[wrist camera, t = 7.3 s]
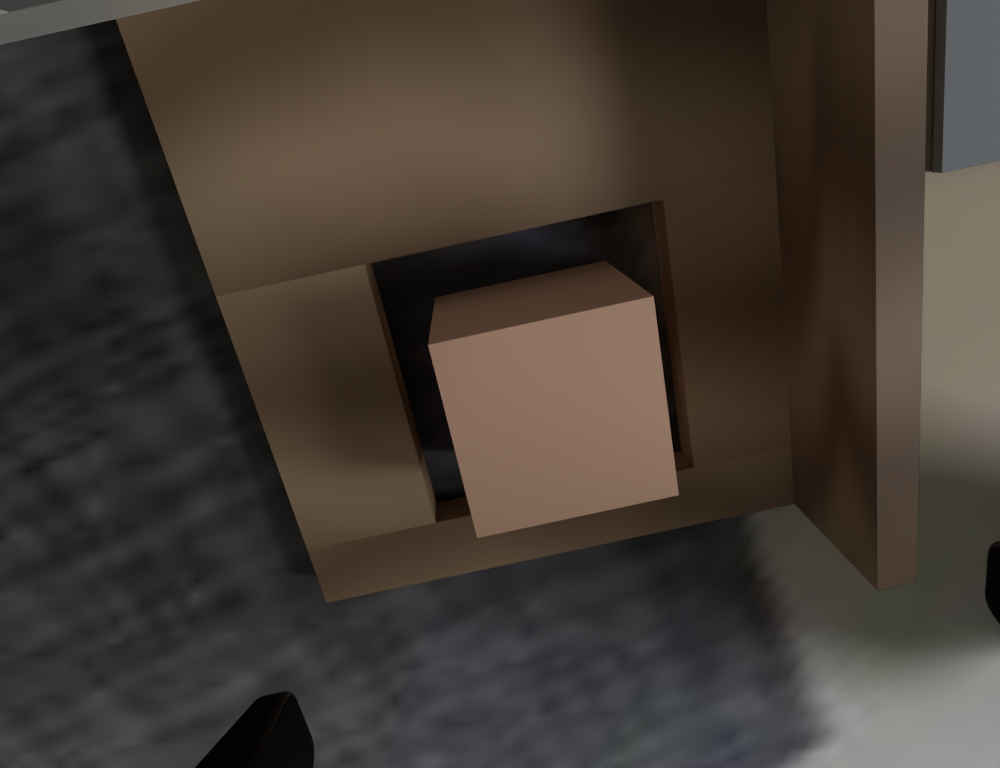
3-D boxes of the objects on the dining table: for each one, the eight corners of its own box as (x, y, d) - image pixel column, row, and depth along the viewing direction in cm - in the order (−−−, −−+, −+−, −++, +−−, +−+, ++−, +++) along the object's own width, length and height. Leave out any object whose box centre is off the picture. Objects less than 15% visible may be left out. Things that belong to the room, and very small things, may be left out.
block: (627, 416, 21) (678, 495, 16) (472, 450, 21) (476, 538, 16) (604, 260, 19) (653, 296, 14) (434, 297, 19) (428, 344, 14)
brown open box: (806, 478, 22) (916, 582, 16) (333, 579, 22) (294, 713, 17) (769, -292, 15) (938, -530, 10) (81, -137, 15) (-118, -290, 10)
